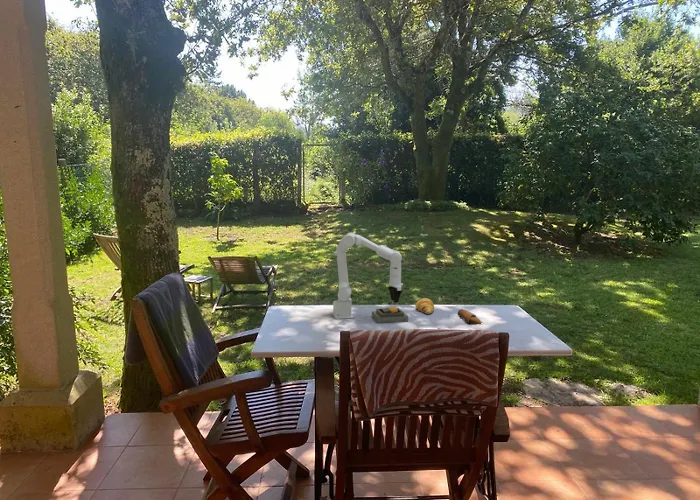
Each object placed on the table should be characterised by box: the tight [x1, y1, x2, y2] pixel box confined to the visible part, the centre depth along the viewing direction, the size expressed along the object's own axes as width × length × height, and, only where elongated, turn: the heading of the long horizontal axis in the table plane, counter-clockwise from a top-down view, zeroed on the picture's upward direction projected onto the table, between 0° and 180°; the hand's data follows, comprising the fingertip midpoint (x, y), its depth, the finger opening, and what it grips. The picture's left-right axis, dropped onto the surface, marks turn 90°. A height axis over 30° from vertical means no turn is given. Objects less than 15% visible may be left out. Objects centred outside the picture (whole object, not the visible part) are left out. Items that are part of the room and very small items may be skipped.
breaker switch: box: [381, 306, 398, 313], centre depth 272 cm, size 7×5×2 cm
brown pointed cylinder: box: [457, 308, 483, 326], centre depth 274 cm, size 18×7×7 cm
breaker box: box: [371, 307, 409, 324], centre depth 273 cm, size 16×12×4 cm
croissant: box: [415, 297, 435, 315], centre depth 291 cm, size 21×10×8 cm, turn 5°
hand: (394, 301), depth 272 cm, fingers open, 4 cm apart
